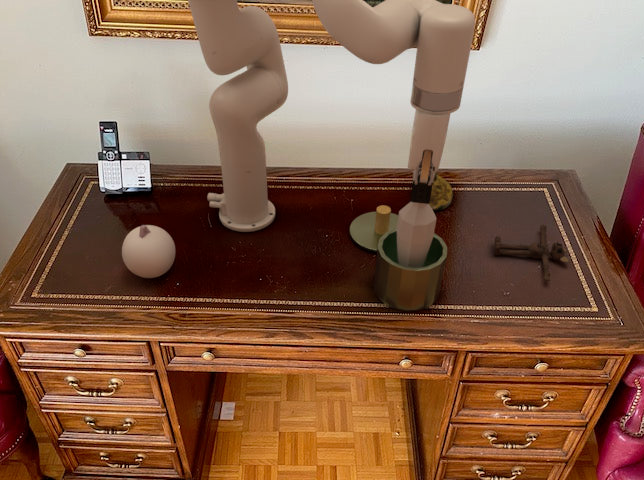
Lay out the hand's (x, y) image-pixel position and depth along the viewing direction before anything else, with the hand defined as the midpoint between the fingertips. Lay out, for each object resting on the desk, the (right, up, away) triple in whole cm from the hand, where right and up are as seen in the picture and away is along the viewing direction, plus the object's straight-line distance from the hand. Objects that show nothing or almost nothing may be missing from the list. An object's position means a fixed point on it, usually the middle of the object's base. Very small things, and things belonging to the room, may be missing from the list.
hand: (420, 193), depth 108 cm
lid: (-3, -4, +28) cm, 28 cm away
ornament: (-50, -12, +21) cm, 56 cm away
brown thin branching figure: (+27, -9, +22) cm, 36 cm away
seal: (+11, +6, +38) cm, 40 cm away
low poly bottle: (0, -11, +11) cm, 16 cm away
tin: (0, -16, +16) cm, 22 cm away
